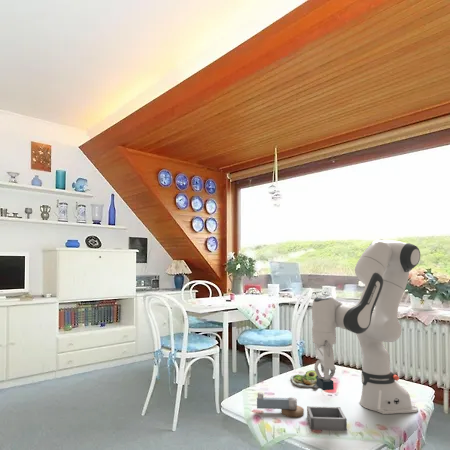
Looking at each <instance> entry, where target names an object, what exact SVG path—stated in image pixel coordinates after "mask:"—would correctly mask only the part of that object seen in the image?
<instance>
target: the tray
mask: <svg viewBox="0 0 450 450" xmlns="http://www.w3.org/2000/svg"><path fill="white" fill-rule="evenodd" d="M306 416H307V421H308V424H309V426H310V429H311V430H321V431H323V430H325V431H348V422H347V421H348V420H347V417H346V416H345V413H344V412H343V410H342V408H341V407H339V406H309V405H308V406H306Z"/></svg>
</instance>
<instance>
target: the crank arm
mask: <svg viewBox="0 0 450 450" xmlns="http://www.w3.org/2000/svg"><path fill="white" fill-rule="evenodd" d="M297 402H298V399H297V398H296V397H293V396H291V397H264V392H260V391H259V392H257V397H256V409H258V410H259V409H260V410H261V409H267V410H281V409H290V410H296V409H297V406H298V403H297Z"/></svg>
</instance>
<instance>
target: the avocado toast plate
mask: <svg viewBox="0 0 450 450" xmlns="http://www.w3.org/2000/svg"><path fill="white" fill-rule="evenodd" d="M316 377H318V376H317V374H316V372H315V369H314V370H313V369H312V370H308V371H306V372H305V373H304V374H293V375H291V377H290V381H291V382H292V384H294V385H295V386H296V387H298V388H304V389H317V388H319V387H318V386H317V380H316Z"/></svg>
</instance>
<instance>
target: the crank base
mask: <svg viewBox="0 0 450 450" xmlns="http://www.w3.org/2000/svg"><path fill="white" fill-rule="evenodd" d="M280 410H281V412H282V413H281V414H282V415H283V416H284V415H285V417H287V418H300V417H302V416H303V417H304V413H305V412H304V411H305V410H304V408H303V407H302V406H300V405H297V409H296V410H290V409H280Z"/></svg>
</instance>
